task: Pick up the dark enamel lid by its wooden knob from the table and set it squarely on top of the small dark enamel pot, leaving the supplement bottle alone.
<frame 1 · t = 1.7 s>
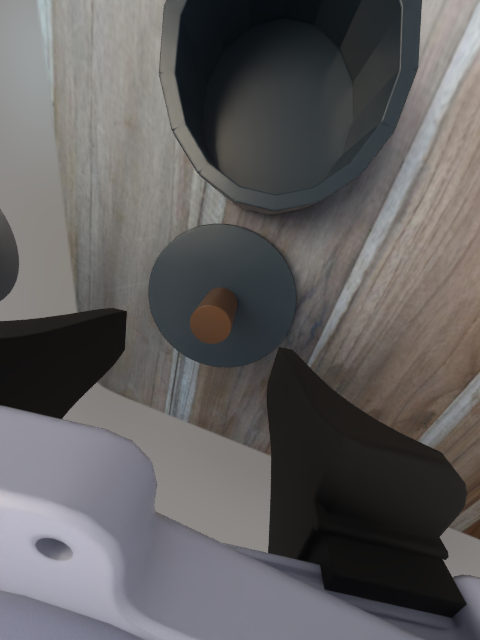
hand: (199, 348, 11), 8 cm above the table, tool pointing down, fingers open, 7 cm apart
lid: (222, 301, 18), point 1 cm above the table
pot: (275, 123, 15), on the table
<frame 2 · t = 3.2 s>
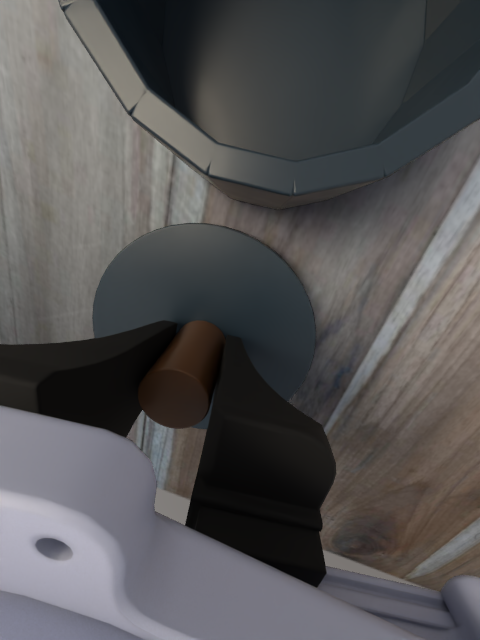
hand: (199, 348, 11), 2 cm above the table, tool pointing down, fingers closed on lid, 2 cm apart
lid: (203, 338, 12), point 1 cm above the table, touching gripper
pot: (287, 53, 9), on the table
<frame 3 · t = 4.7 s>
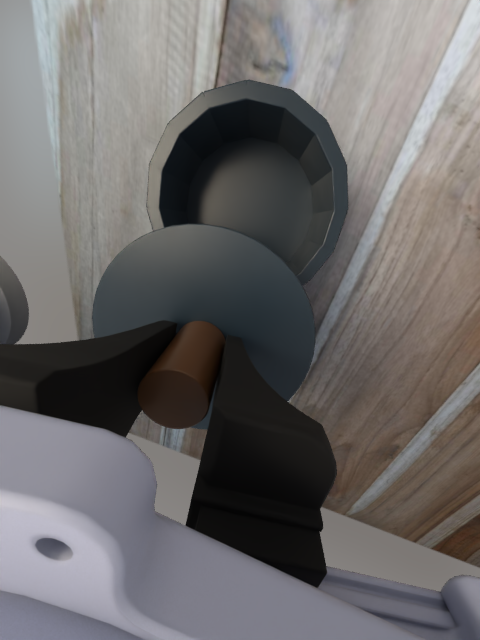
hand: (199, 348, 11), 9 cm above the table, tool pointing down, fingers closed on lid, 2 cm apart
lid: (203, 339, 12), point 8 cm above the table, touching gripper
pot: (248, 213, 17), on the table
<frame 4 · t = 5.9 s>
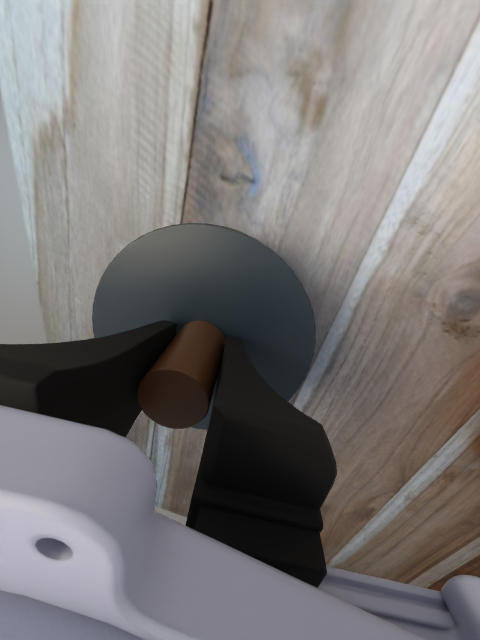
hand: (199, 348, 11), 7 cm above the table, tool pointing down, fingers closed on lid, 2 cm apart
lid: (203, 338, 12), point 6 cm above the table, touching gripper
when the fingers open (6 cm above the table, at t = 6.3 s): lid stays where it is, resting on pot.
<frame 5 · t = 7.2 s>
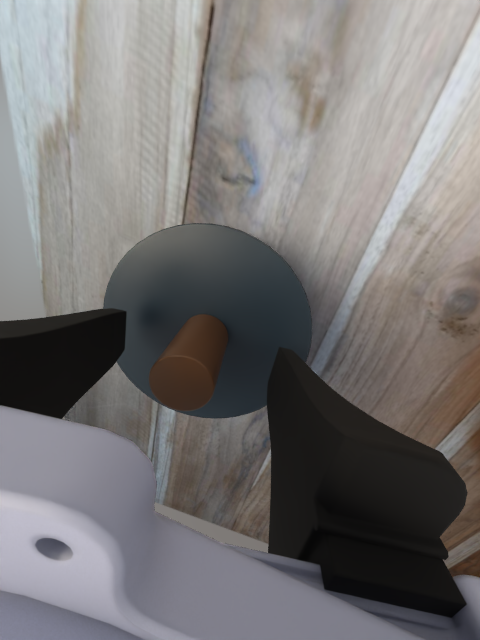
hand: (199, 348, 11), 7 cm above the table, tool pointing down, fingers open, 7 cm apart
lid: (207, 331, 13), point 5 cm above the table, touching pot
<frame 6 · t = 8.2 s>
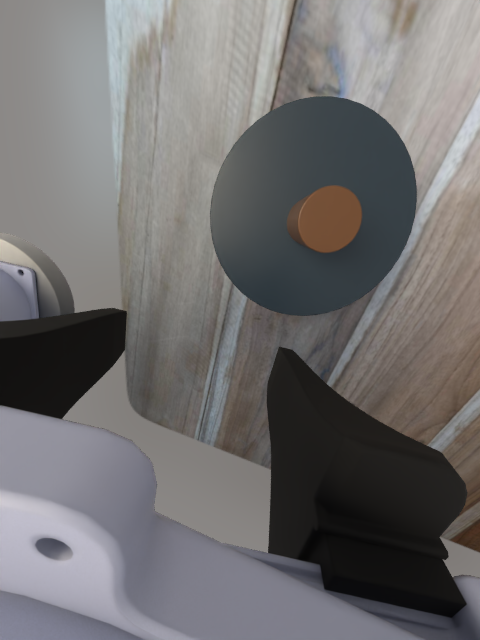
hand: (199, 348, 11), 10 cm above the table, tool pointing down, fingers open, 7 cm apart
lid: (307, 222, 14), point 5 cm above the table, touching pot
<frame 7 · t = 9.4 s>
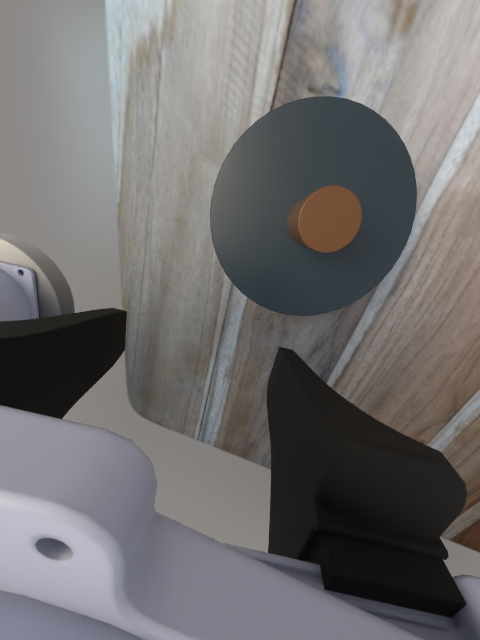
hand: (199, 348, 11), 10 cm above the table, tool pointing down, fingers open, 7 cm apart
lid: (307, 222, 14), point 5 cm above the table, touching pot
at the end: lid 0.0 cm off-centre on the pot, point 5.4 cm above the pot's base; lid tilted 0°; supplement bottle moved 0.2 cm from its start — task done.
